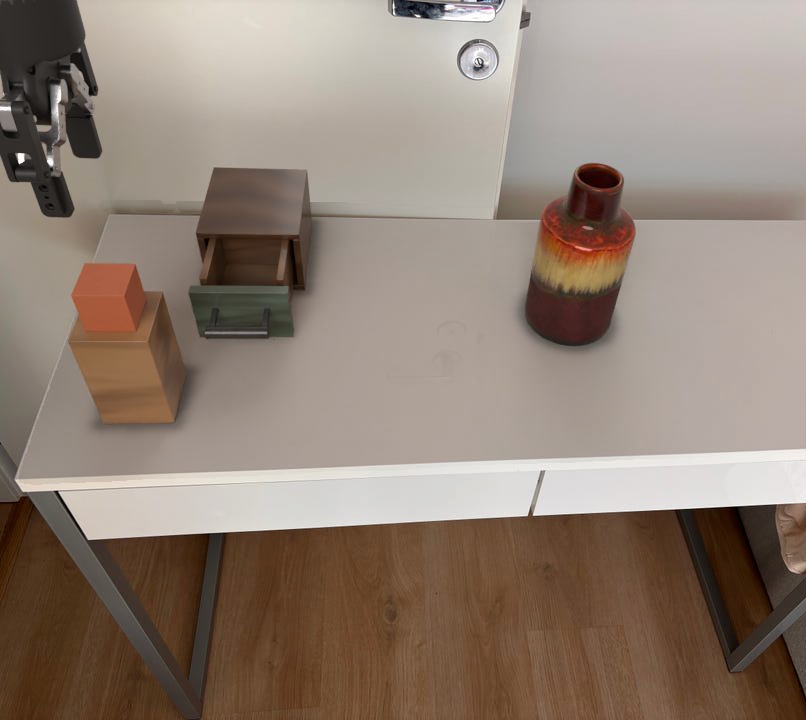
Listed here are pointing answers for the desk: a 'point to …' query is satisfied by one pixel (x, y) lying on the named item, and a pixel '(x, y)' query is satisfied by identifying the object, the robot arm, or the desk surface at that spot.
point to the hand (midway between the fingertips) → (75, 184)
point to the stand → (133, 367)
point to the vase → (580, 258)
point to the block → (109, 297)
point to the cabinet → (259, 210)
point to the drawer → (245, 289)
